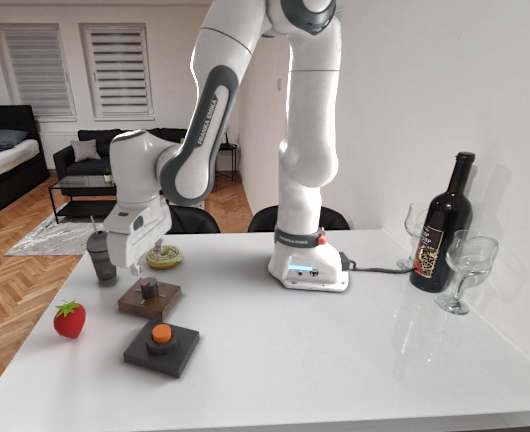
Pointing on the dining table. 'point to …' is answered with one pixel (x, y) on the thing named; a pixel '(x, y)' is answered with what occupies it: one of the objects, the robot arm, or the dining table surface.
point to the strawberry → (69, 319)
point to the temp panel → (150, 301)
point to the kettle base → (162, 349)
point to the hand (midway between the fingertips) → (148, 262)
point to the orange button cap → (161, 333)
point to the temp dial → (149, 287)
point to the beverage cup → (101, 257)
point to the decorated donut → (164, 257)
